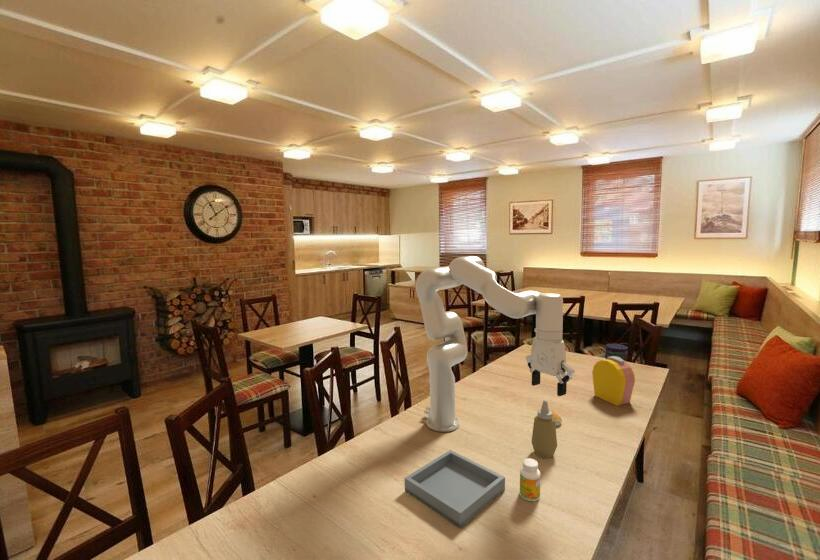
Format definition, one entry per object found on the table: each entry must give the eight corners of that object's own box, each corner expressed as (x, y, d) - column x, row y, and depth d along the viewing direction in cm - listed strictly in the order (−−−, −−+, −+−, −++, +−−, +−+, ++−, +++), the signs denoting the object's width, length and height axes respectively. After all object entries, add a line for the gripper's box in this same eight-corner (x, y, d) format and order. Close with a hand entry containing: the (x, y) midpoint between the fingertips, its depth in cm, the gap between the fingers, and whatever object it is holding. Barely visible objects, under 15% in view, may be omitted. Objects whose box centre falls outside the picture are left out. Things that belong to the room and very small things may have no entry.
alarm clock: (634, 403, 163) (636, 361, 161) (620, 407, 160) (622, 364, 158) (605, 390, 177) (606, 351, 175) (591, 393, 174) (592, 354, 172)
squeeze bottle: (540, 462, 123) (541, 408, 121) (526, 449, 131) (527, 397, 128) (562, 458, 125) (564, 404, 123) (547, 445, 133) (548, 394, 131)
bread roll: (551, 415, 155) (551, 405, 154) (565, 425, 146) (565, 415, 146) (532, 417, 153) (532, 408, 153) (545, 428, 144) (545, 418, 144)
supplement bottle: (515, 495, 108) (516, 462, 106) (525, 486, 111) (526, 454, 110) (534, 504, 104) (534, 470, 103) (543, 495, 108) (544, 462, 106)
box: (404, 491, 110) (404, 477, 110) (450, 461, 124) (450, 449, 124) (460, 528, 96) (460, 513, 96) (504, 490, 110) (505, 477, 109)
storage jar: (599, 372, 200) (601, 344, 198) (615, 370, 202) (616, 342, 201) (615, 379, 190) (616, 349, 188) (631, 377, 193) (632, 347, 191)
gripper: (518, 330, 122) (518, 383, 124) (565, 343, 107) (564, 402, 109) (535, 327, 126) (535, 378, 128) (582, 338, 111) (581, 396, 113)
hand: (548, 389), depth 118 cm, fingers open, 9 cm apart
